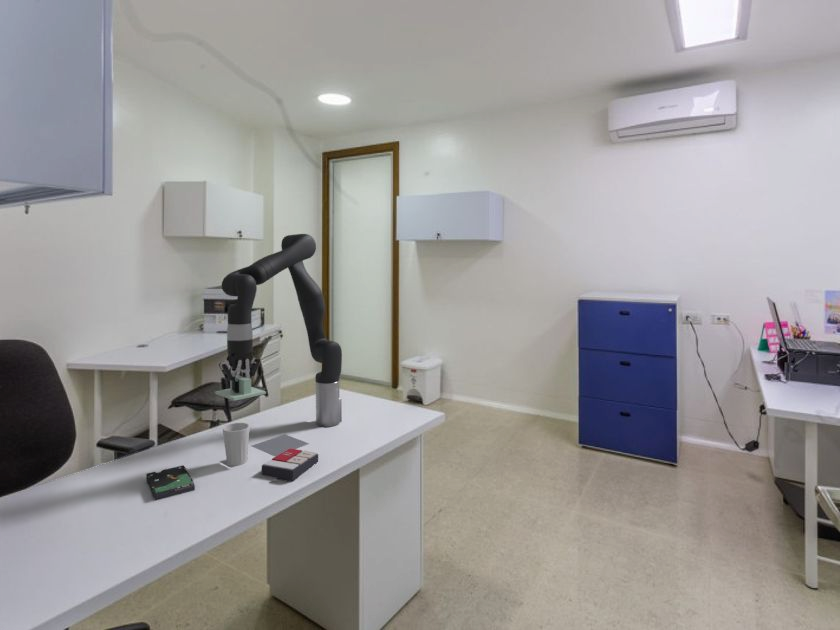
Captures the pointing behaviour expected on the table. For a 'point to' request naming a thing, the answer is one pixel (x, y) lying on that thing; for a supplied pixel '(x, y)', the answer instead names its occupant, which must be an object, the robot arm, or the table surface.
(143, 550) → the table surface
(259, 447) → the mat
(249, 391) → the cover
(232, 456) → the cup
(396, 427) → the table surface
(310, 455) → the red white black box
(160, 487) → the disk drive
